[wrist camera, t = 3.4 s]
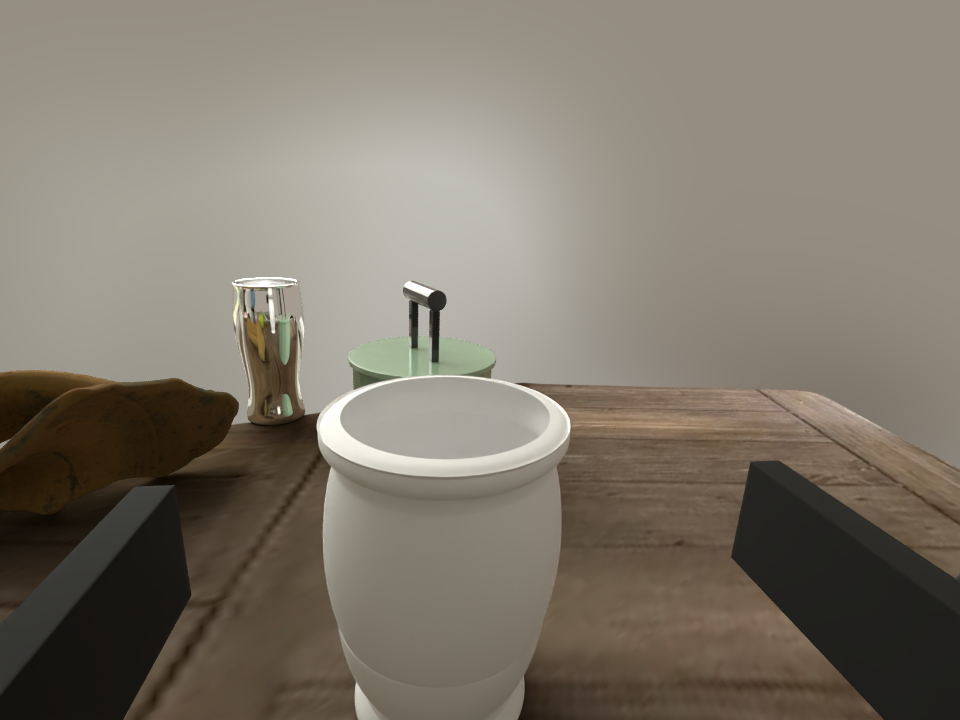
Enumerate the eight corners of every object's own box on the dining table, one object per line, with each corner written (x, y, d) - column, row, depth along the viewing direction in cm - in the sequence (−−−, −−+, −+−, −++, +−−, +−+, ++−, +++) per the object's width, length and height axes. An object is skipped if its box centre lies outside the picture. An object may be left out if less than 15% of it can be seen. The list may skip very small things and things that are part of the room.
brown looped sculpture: (38, 516, 26) (-391, 423, 25) (103, 641, 33) (-230, 569, 33) (230, 329, 41) (-38, 271, 41) (245, 443, 48) (18, 394, 48)
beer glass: (229, 423, 54) (214, 284, 50) (265, 401, 61) (254, 275, 57) (290, 430, 53) (280, 288, 49) (319, 406, 60) (313, 279, 56)
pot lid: (373, 399, 39) (371, 302, 37) (333, 353, 50) (329, 277, 48) (523, 378, 45) (529, 294, 43) (457, 341, 56) (458, 274, 54)
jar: (477, 865, 19) (497, 508, 14) (283, 723, 23) (255, 423, 19) (574, 657, 28) (604, 398, 23) (419, 584, 32) (421, 360, 28)
